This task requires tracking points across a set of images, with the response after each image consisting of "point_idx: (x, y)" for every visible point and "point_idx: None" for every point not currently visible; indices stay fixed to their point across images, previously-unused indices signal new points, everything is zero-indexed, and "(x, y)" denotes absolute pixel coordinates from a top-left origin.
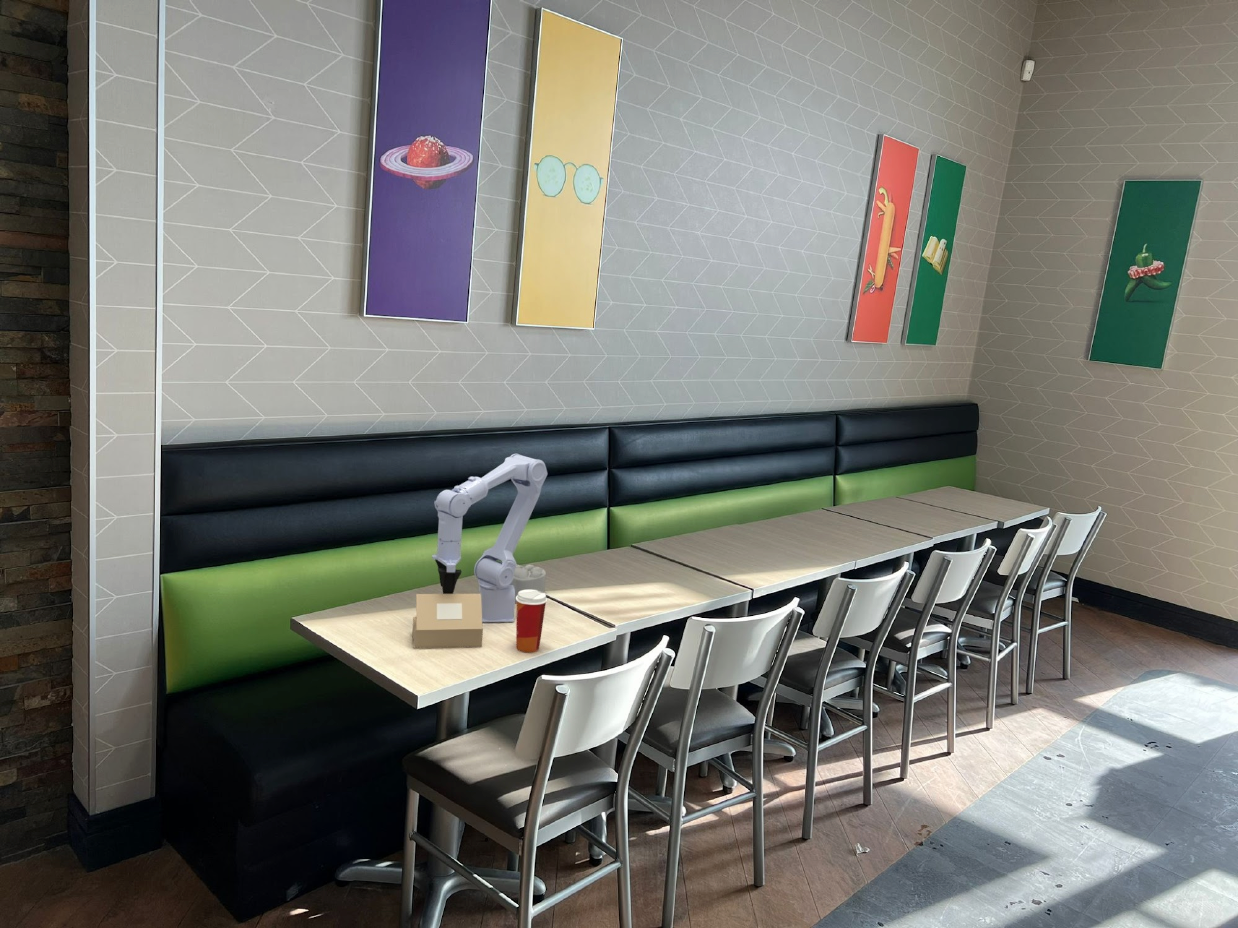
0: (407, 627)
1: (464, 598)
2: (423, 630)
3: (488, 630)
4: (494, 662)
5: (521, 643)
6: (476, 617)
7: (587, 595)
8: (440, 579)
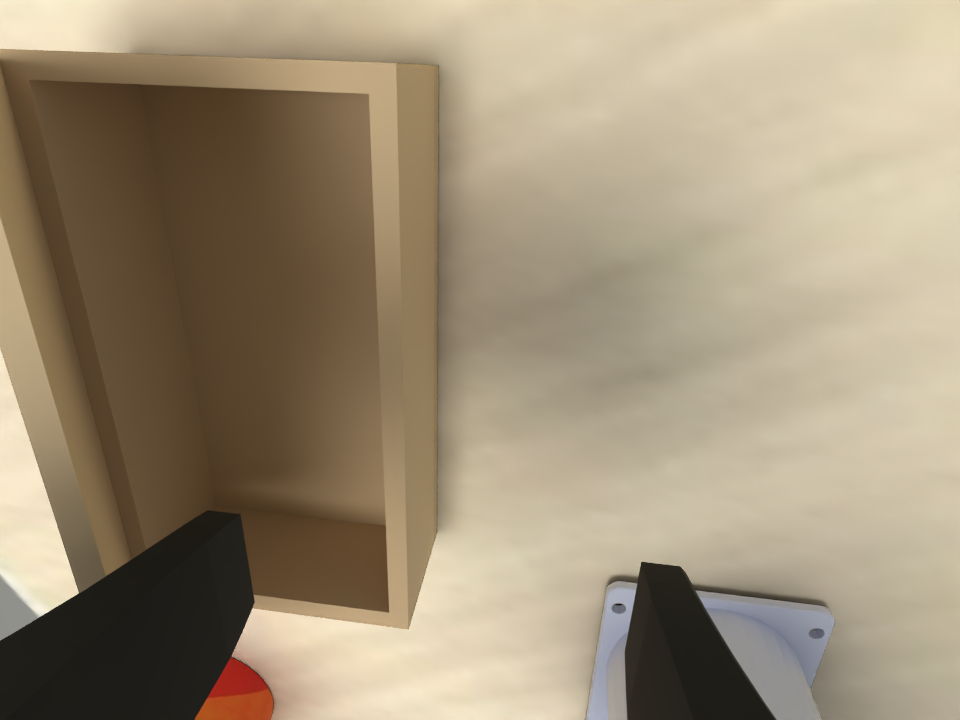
0: (605, 31)
1: None
2: (23, 137)
3: (471, 597)
4: (10, 514)
5: None
6: None
7: None
8: (666, 648)
